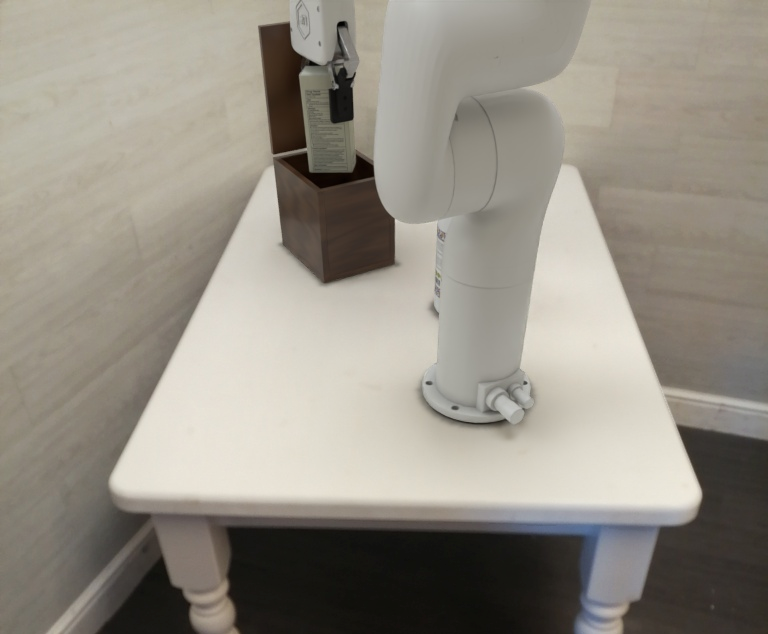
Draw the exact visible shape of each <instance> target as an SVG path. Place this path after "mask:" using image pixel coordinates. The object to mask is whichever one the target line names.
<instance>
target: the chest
mask: <svg viewBox="0 0 768 634" xmlns="http://www.w3.org/2000/svg"><path fill="white" fill-rule="evenodd" d="M355 153H356V164H355V167H354V169H353V172H351V173H311V172H310V171H309V162H308V153H307V150H303V151H297V152H294V153H288V154H283V155H278V156H274V157H272V160H273V161H272V163H273V170H274V171H273V172H274V179H275V189H276V197H277V206H278V215H279V223H280V233H281V242H282V244H283V246H285V248H286V249H287V250H289V252H291V253H292V254H293V255H294V257H296V258H297V259H298V260H299V261H300V262H301V263H302V264H303V265H304V266H305V267H306V268H307V269H308V270H309V271H311V272H312V273H313V274H314V275H315V276H316V277H317V278H318V279H319V280H320V281H321V282H322V283H323V284H328V283H331V282H334V281H338V280H342V279H345V278H349V277H352V276H357V275H360V274H364V273H367V272H370V271H374V270H378V269H382V268H385V267H389V266H392V265H395V264H396V219H395V218H393V217H392V216H391V215H390V214H389V213H388V212H387V211H386V209H385V208H384V206H383V204H382V202H381V200H380V197H379V195H378V191H377V187H376V182H375V175H374V159H371V158H370V157H369V156H367V155H365V153H362V152H361V151H359V150H357V149H356V148H355Z"/></svg>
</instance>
